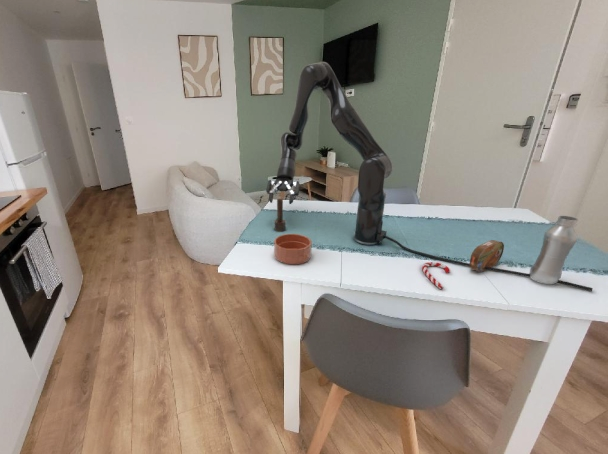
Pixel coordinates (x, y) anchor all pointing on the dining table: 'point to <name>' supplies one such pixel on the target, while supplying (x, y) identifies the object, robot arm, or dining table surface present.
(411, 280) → the dining table surface
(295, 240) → the bowl
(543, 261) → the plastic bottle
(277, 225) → the pestle
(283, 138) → the robot arm
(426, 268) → the candy cane
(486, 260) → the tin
